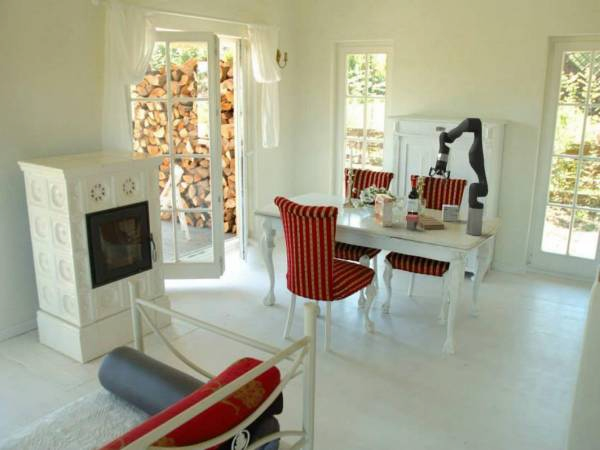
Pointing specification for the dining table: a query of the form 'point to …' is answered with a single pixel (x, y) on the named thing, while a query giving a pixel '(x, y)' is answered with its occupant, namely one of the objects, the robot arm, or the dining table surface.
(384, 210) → the coffeecake box
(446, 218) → the light bulb box
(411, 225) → the grey tin
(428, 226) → the walnut board
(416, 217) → the red lid
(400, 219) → the dining table surface
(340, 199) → the dining table surface
